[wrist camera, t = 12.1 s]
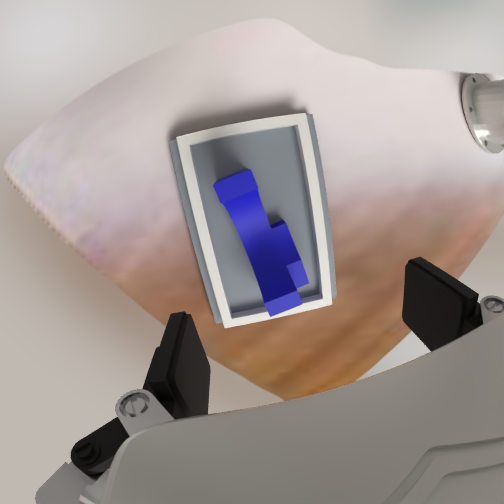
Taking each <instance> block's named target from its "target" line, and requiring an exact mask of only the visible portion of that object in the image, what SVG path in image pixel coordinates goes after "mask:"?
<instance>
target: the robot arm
mask: <svg viewBox="0 0 504 504" xmlns="http://www.w3.org/2000/svg"><path fill="white" fill-rule="evenodd" d="M462 103H463V109H464V113H465V117H466V121H467V123H468V126H469V129H470V131H471V133H472V135H473V137H474V139H475V140H476V142H477V143H478V144H479V146H480V147H481V148H482V149H483V150H485V151H486V152H488V153H496V154H497V153H500V152H501V151H502V150H503V149H504V80H496V81H490V80H489V79H488V78H487V77H485V76H484V75H482V74H478V73H475V74H471V75H469V76H467V78H466V79H465V81H464V83H463V88H462ZM478 296H479V294H478V293H476V292H475V291H473V290H472V289H470V288H469V287H467V286H466V285H464V284H463V283H461V282H460V281H458V280H457V279H455V278H454V277H452V276H451V275H449V274H448V273H446V272H444V271H443V270H441V269H440V268H438V267H436V266H435V265H433V264H432V263H430V262H428V261H427V260H425V259H423V258H422V257H418V258H414V259H411V260H409V261H408V264H406V266H405V285H404V299H403V311H402V318H403V321H404V323H405V324H406V325H407V326H408V327H409V328H410V329H411V330H412V331H413V332H414V333H415V334H416V335H417V337H418V338H419V339H420V340H421V341H422V342H423V343H424V344H425V345H426V346H427V347H428V349H429V350H430V351H431V352H430V353H427V354H425V355H423V356H421V357H419V358H416V359H414V360H412V361H409V362H407V363H404V364H402V365H400V366H397V367H395V368H392V369H390V370H387V371H384V372H382V373H379V374H376V375H374V376H371V377H368V378H365V379H362V380H359V381H356V382H353V383H350V384H347V385H344V386H340V387H337V388H334V389H330V390H327V391H323V392H320V393H316V394H312V395H308V396H305V397H300V398H296V399H292V400H288V401H283V402H279V403H274V404H269V405H264V406H258V407H253V408H247V409H240V410H234V411H227V412H221V413H214V414H208V402H209V385H210V365H209V362H208V359H207V357H206V354H205V351H204V349H203V346H202V343H201V341H200V338H199V335H198V333H197V330H196V327H195V324H194V322H193V319H192V316H191V314H186V312H185V311H184V312H178V313H172V314H171V315H170V318H169V320H168V323H167V326H166V329H165V332H164V335H163V338H162V341H161V344H160V347H157V348H156V350H155V353H154V356H153V358H152V362H151V364H150V368H149V370H148V373H147V376H146V380H145V383H144V386H143V389H137V390H132V391H130V392H127V393H126V394H124V395H123V396H122V397H121V398H120V399H119V400H118V402H117V404H116V407H115V411H116V414H117V416H118V417H116V418H115V419H113V420H112V421H110V422H108V423H107V424H105V425H104V426H102V427H101V428H99V429H97V430H96V431H94V432H92V433H91V434H89V435H88V436H86V437H84V438H83V439H81V440H79V441H78V442H77V443H76V444H75V445H74V447H73V448H72V451H71V460H72V461H71V462H70V463H69V464H68V463H66V462H65V463H64V464H63V465H62V466H61V467H60V468H59V469H58V470H57V471H56V472H55V473H54V474H53V475H52V476H51V477H50V478H49V479H48V480H47V481H46V482H45V483H44V484H43V485H42V486H41V487H40V488H39V490H38V491H37V493H36V497H35V499H36V504H504V299H502V298H500V297H498V296H486V297H484V298H483V299H482V300H481V301H480V304H479V303H478V302H477V301H478Z"/></svg>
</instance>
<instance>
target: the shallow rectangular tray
mask: <svg viewBox="0 0 504 504" xmlns="http://www.w3.org/2000/svg"><path fill="white" fill-rule="evenodd" d="M176 138H177V139H174V140H170V141H169V145H170V149H171V154H172V159H173V164H174V168H175V173H176V177H177V181H178V186H179V190H180V194H181V198H182V203H183V207H184V211H185V215H186V219H187V223H188V227H189V231H190V234H191V238H192V242H193V246H194V250H195V253H196V257H197V261H198V264H199V268H200V271H201V275H202V278H203V282H204V285H205V289H206V292H207V295H208V299H209V302H210V305H211V309H212V312H213V315H214V318H215V322H216V324H218V323H223V324H224V327H225V328H229V327H234V326H239V325H244V324H249V323H254V322H259V321H264V320H268V319H273V318H278V317H282V316H286V315H291V314H295V313H299V312H304V311H308V310H312V309H316V308H320V307H324V306H328V305H331V304H332V298H336V297H337V293H336V278H335V266H334V254H333V244H332V235H331V226H330V218H329V210H328V202H327V195H326V188H325V181H324V175H323V169H322V163H321V157H320V151H319V146H318V140H317V135H316V130H315V125H314V120H313V115H312V114H307V115H306V113H300V114H291V115H283V116H276V117H269V118H263V119H257V120H251V121H245V122H240V123H234V124H229V125H224V126H220V127H215V128H211V129H206V130H202V131H198V132H194V133H190V134H186V135H182V136H178V137H176ZM246 168H248V169H251V171H252V173H253V176H254V178H255V181H256V183H257V186H258V192H259V196H260V199H261V202H262V205H263V208H264V210H265V213H266V216H267V219H268V221H269V224H270V225H271V224H274V223H276V222H279V221H281V220H284V221H285V222H286V223H287V226H288V229H289V231H290V234H291V236H292V239H293V241H294V244H295V246H296V248H297V251H298V253H299V255H300V258H301V260H302V263H303V266H304V269H305V271H306V274H307V277H308V280H309V284H307V285H304V286H302V287H300V288H297V290H298V293H299V296H300V299H301V301H302V305H300V306H297V307H295V308H292V309H290V310H287V311H285V312H282V313H280V314H277V315H275V316H272V317H270V316H269V313H268V311H267V309H266V307H265V304H264V301H263V297H262V294H261V291H260V288H259V285H258V282H257V279H256V276H255V274H254V271H253V268H252V266H251V263H250V261H249V258H248V256H247V253H246V251H245V248H244V246H243V243H242V241H241V239H240V236H239V234H238V232H237V230H236V228H235V225H234V223H233V221H232V219H231V217H230V215H229V213H228V211H227V210H226V208H225V206H224V205H223V204H222V203H220V201H219V199H218V196H217V194H216V192H215V189H214V187H213V184H214V183H215V182H216V181H217V180H219V179H221V178H224V177H226V176H228V175H231V174H233V173H236V172H238V171H241V170H243V169H246Z"/></svg>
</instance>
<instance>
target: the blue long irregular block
mask: <svg viewBox="0 0 504 504" xmlns="http://www.w3.org/2000/svg"><path fill="white" fill-rule="evenodd" d="M213 187H214V189H215V192H216V194H217V196H218V199H219V201H220V203H222V204H223V205H224V206H225V208H226V210H227V211H228V213H229V215H230V217H231V219H232V221H233V223H234V225H235V228H236V230H237V232H238V234H239V236H240V239H241V241H242V243H243V246H244V248H245V251H246V253H247V256H248V258H249V261H250V263H251V266H252V268H253V271H254V274H255V276H256V279H257V282H258V285H259V288H260V291H261V294H262V297H263V301H264V304H265V307H266V309H267V311H268V313H269V316H270V317H272V316H275V315H277V314H280V313H282V312H285V311H287V310H290V309H292V308H295V307H297V306H300V305H302V301H301V299H300V296H299V293H298V290H297V288H300V287H302V286H304V285H307V284H309V280H308V277H307V274H306V271H305V269H304V266H303V263H302V260H301V258H300V255H299V253H298V251H297V248H296V246H295V244H294V241H293V239H292V236H291V234H290V231H289V229H288V226H287V223H286V222H285V221H284V220H281V221H279V222H276V223H274V224H271V225H270V224H269V221H268V219H267V216H266V213H265V210H264V208H263V205H262V202H261V199H260V196H259V192H258V186H257V183H256V181H255V178H254V176H253V173H252V171H251V169H248V168H246V169H243V170H241V171H238V172H236V173H233V174H231V175H228V176H226V177H224V178H221V179H219V180H217V181H216V182H215V183H214V184H213Z"/></svg>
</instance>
